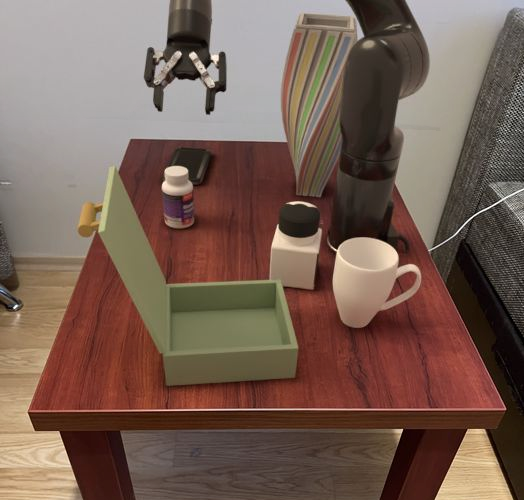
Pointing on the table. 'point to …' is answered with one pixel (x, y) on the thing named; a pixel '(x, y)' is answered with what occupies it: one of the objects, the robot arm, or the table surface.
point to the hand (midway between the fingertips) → (183, 111)
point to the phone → (191, 162)
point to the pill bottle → (178, 198)
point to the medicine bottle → (296, 246)
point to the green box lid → (129, 254)
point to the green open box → (228, 332)
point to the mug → (367, 279)
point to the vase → (315, 96)
